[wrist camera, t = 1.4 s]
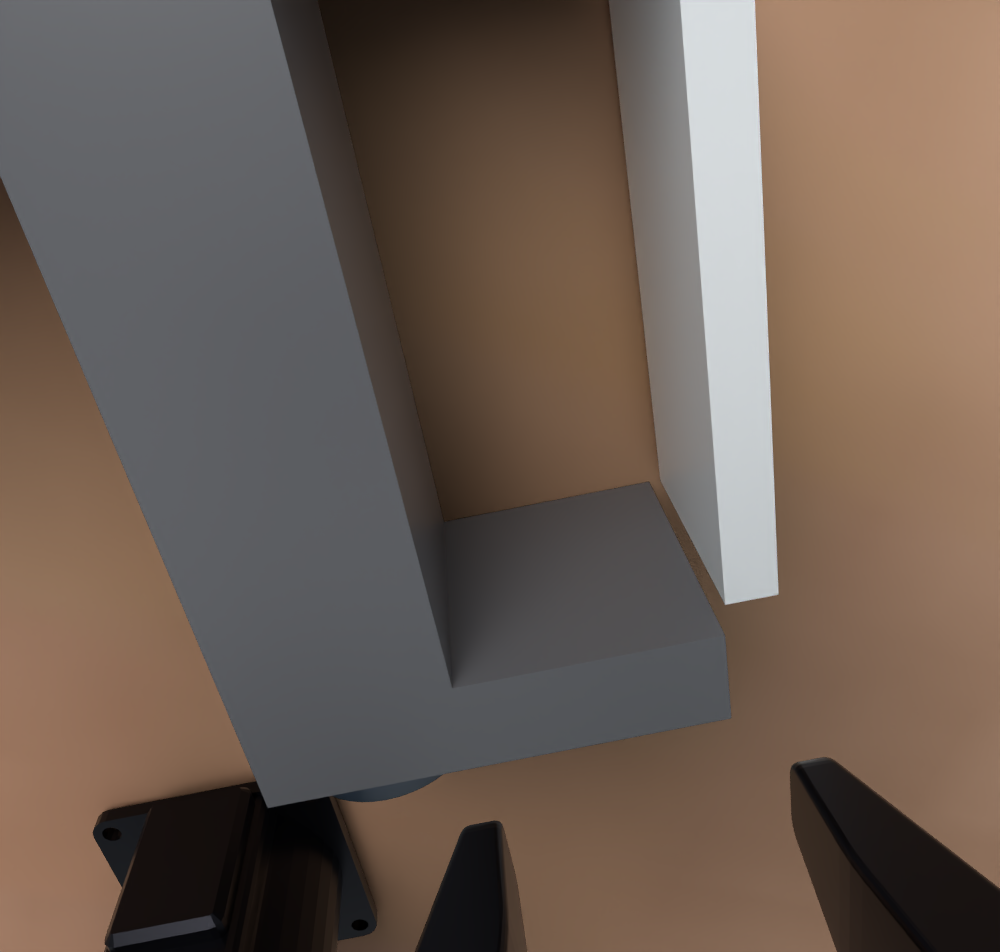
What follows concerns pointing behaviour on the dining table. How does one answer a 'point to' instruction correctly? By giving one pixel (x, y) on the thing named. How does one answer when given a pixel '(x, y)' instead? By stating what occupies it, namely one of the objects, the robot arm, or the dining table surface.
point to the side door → (703, 272)
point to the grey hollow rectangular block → (313, 420)
